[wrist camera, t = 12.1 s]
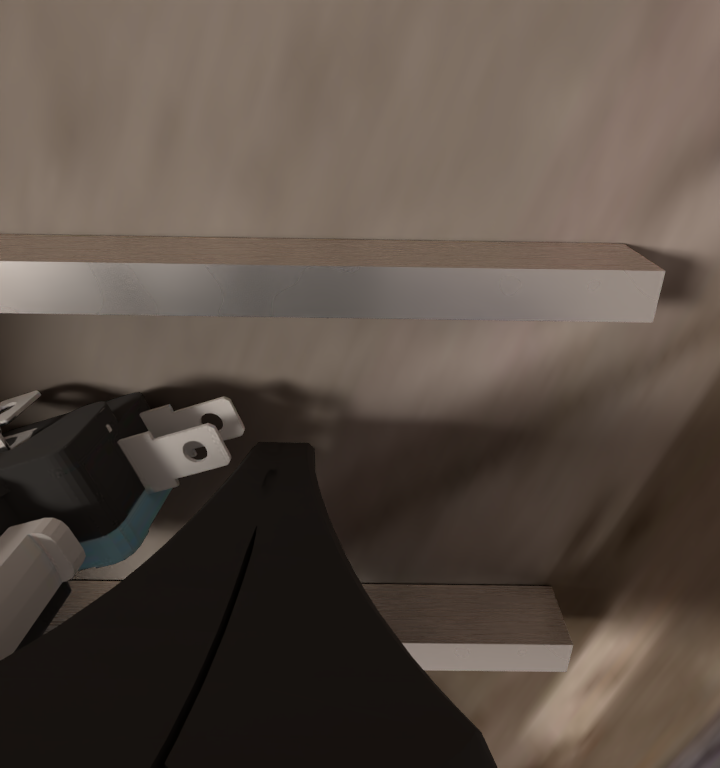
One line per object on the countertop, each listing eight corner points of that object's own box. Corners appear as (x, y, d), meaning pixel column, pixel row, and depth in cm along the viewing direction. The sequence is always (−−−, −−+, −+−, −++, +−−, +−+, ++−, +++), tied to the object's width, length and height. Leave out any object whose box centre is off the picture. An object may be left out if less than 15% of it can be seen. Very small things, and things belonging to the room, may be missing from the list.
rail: (546, 611, 14) (631, 857, 10) (-164, 603, 14) (-405, 848, 10) (624, 243, 10) (822, 373, 6) (-355, 229, 10) (-902, 349, 6)
